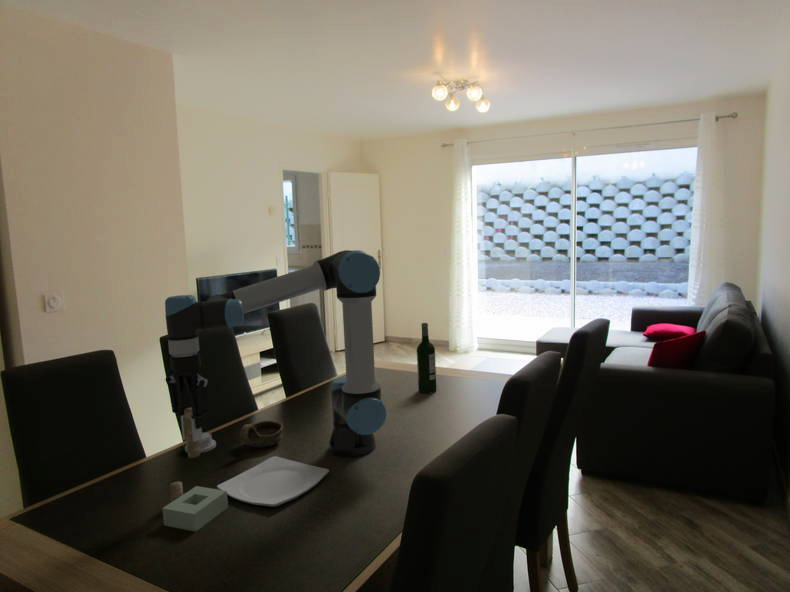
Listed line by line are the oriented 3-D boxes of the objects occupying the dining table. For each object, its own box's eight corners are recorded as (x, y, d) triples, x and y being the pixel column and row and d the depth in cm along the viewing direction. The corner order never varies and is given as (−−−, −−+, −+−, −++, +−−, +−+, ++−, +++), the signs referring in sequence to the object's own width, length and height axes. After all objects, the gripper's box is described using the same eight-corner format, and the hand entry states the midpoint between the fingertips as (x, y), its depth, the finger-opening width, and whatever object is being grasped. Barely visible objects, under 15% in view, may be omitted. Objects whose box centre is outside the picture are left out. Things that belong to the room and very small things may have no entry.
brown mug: (293, 439, 185) (290, 411, 184) (260, 459, 169) (257, 429, 168) (261, 435, 191) (259, 408, 190) (227, 454, 175) (224, 425, 174)
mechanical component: (179, 454, 178) (206, 455, 176) (177, 441, 177) (205, 442, 175) (195, 442, 187) (221, 443, 185) (194, 430, 187) (220, 431, 185)
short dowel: (186, 503, 143) (184, 482, 142) (178, 509, 140) (176, 487, 140) (177, 501, 144) (175, 480, 144) (169, 507, 142) (167, 485, 141)
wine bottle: (437, 393, 229) (434, 324, 226) (418, 393, 229) (415, 325, 226) (436, 387, 237) (433, 321, 234) (418, 388, 237) (415, 322, 234)
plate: (275, 517, 134) (274, 507, 134) (210, 496, 147) (210, 487, 147) (335, 477, 155) (335, 468, 155) (274, 461, 168) (273, 453, 168)
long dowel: (202, 454, 145) (198, 407, 144) (194, 458, 143) (189, 411, 141) (193, 452, 147) (189, 406, 145) (185, 457, 144) (181, 410, 142)
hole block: (228, 507, 140) (226, 490, 139) (195, 531, 129) (194, 514, 128) (198, 501, 144) (196, 486, 143) (164, 525, 133) (162, 508, 132)
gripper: (218, 352, 142) (225, 437, 144) (173, 349, 148) (180, 430, 151) (197, 358, 135) (205, 447, 137) (151, 355, 141) (159, 440, 144)
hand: (192, 438), depth 144 cm, fingers closed on long dowel, 3 cm apart
